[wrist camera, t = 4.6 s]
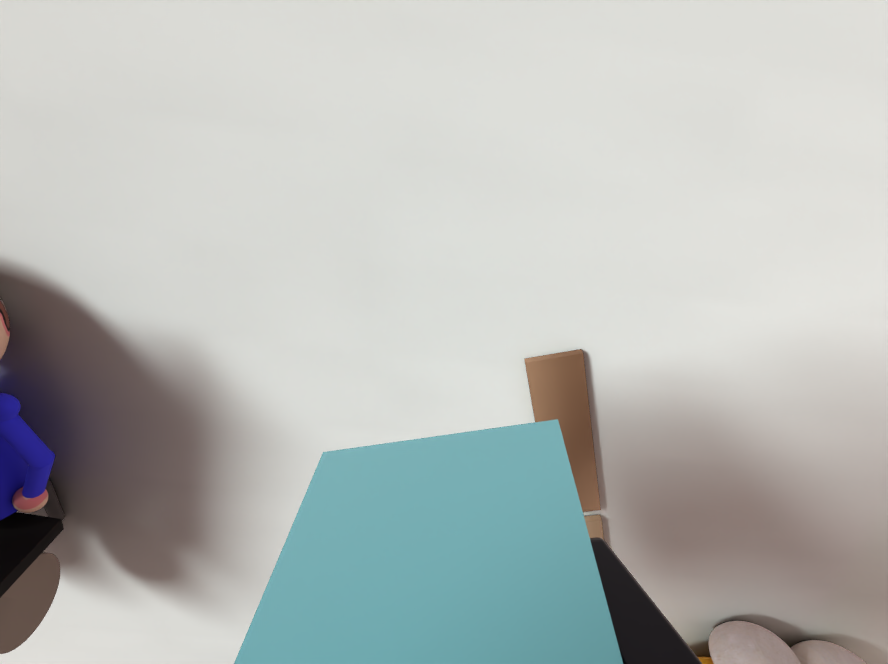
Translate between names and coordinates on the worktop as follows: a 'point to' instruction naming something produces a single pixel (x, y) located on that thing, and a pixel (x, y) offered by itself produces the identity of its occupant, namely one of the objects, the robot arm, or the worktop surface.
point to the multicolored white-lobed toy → (769, 648)
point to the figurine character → (24, 521)
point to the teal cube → (438, 559)
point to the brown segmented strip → (568, 420)
